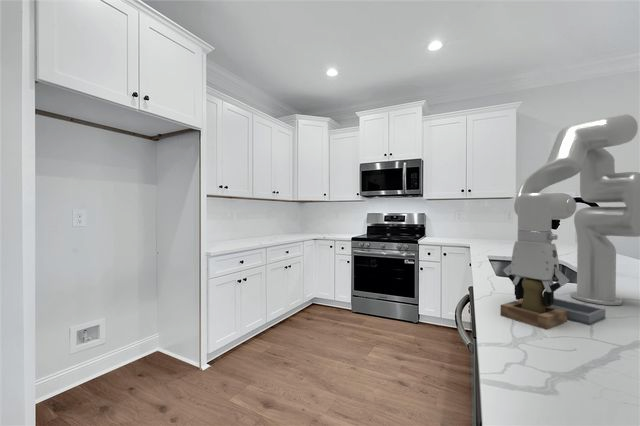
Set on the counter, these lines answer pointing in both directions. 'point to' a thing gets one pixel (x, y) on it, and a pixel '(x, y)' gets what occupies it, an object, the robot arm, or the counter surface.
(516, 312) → the socket block
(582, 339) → the counter surface
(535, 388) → the counter surface
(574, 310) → the tray
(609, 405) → the counter surface
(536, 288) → the cork
